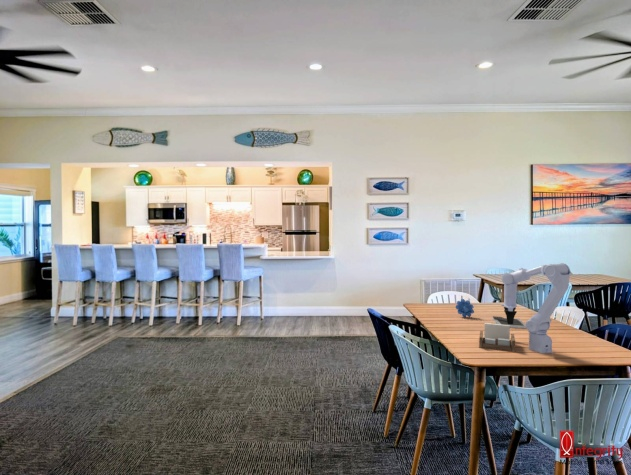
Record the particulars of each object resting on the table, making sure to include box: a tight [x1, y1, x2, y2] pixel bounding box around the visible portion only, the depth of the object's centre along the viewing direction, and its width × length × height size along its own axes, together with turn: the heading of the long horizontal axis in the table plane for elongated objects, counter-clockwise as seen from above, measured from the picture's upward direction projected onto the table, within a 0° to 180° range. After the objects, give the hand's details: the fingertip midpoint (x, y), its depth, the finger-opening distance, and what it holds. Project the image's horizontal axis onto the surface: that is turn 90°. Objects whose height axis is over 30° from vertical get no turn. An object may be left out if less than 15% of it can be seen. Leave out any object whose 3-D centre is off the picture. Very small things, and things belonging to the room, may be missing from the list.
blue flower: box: [455, 298, 475, 318], centre depth 263 cm, size 12×7×12 cm, turn 78°
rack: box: [478, 330, 516, 353], centre depth 201 cm, size 24×16×6 cm, turn 156°
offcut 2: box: [498, 338, 511, 346], centre depth 192 cm, size 2×5×4 cm, turn 66°
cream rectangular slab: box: [483, 322, 511, 340], centre depth 209 cm, size 2×12×8 cm, turn 66°
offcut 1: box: [485, 338, 495, 344], centre depth 194 cm, size 2×4×4 cm, turn 66°
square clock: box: [492, 315, 527, 330], centre depth 245 cm, size 16×3×21 cm
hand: (509, 322), depth 205 cm, fingers open, 7 cm apart
